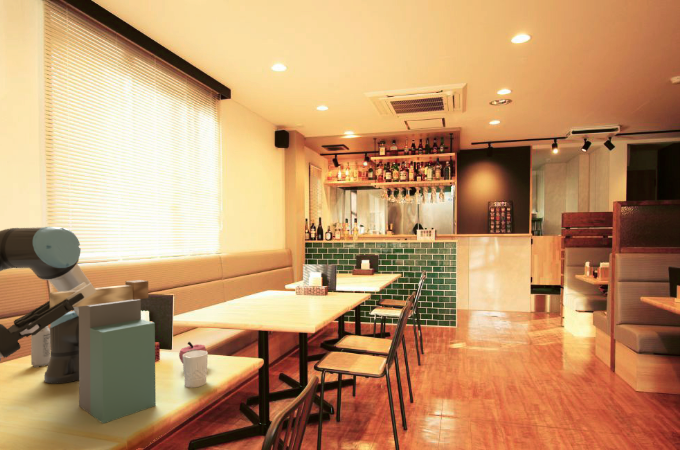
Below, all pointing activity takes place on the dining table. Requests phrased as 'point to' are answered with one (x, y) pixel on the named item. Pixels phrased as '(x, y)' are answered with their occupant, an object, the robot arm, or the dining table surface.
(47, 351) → the energy drink can
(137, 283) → the wooden bar
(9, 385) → the dining table surface
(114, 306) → the stand
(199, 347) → the apple
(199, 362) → the white cup
